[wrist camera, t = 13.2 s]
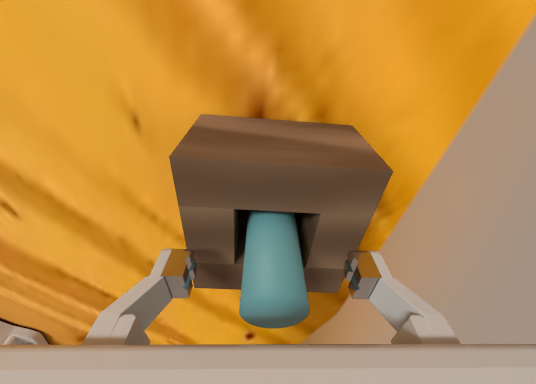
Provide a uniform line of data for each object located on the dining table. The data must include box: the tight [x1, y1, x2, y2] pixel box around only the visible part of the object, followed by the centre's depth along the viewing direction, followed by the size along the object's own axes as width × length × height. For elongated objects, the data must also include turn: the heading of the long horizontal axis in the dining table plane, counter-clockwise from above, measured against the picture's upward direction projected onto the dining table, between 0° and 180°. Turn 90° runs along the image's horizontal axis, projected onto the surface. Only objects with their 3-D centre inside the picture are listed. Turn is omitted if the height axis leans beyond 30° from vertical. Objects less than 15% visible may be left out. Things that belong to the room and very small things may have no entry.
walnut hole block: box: [169, 114, 393, 293], centre depth 15 cm, size 10×10×6 cm
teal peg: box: [239, 210, 309, 328], centre depth 14 cm, size 3×3×10 cm
